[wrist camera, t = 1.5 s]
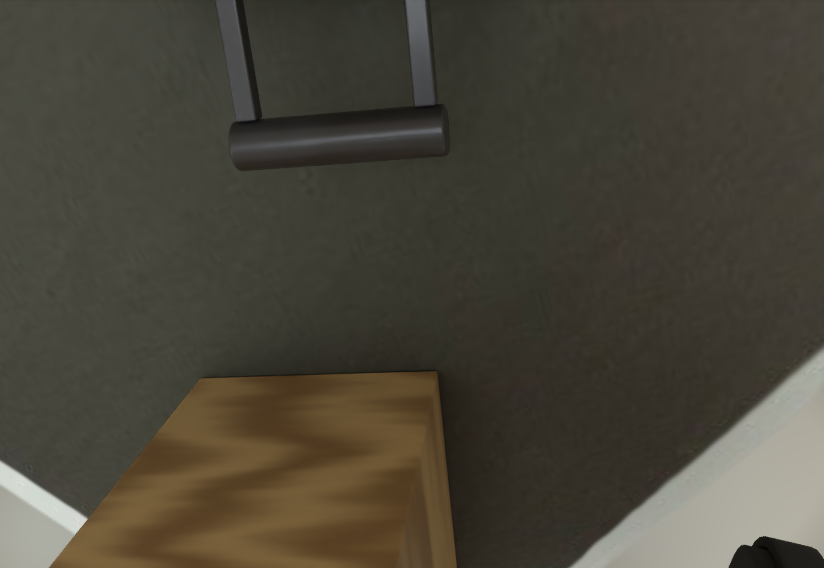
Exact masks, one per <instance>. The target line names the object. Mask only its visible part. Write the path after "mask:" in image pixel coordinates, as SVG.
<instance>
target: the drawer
mask: <svg viewBox="0 0 824 568" xmlns="http://www.w3.org/2000/svg"><path fill="white" fill-rule="evenodd" d="M215 4H216V9H217V15H218V20H219V26H220V32H221V37H222V43H223V48H224V54H225V60H226V65H227V71H228V76H229V82H230V88H231V93H232V99H233V104H234V110H235V116H236V122H234V123H233V124H232V125H231V127H230V131H229V149H230V154H231V158H232V161H233V163H234V165H235V167H236V168H237V169H238V170H240V171H251V170H264V169H278V168H291V167H305V166H318V165H332V164H345V163H359V162H372V161H386V160H400V159H413V158H427V157H440V156H447V155H448V153H449V149H450V135H449V121H448V114H447V109H446V107H445V105H444V104H437V102H438V94H437V82H436V71H435V59H434V48H433V36H432V25H431V13H430V2H429V0H404V5H405V15H406V26H407V36H408V46H409V56H410V67H411V77H412V87H413V97H414V105H415V106H411V107H399V108H387V109H375V110H363V111H351V112H340V113H328V114H316V115H304V116H292V117H280V118H269V119H260V118H262V112H261V106H260V100H259V94H258V88H257V82H256V76H255V70H254V64H253V58H252V52H251V46H250V40H249V34H248V28H247V22H246V16H245V10H244V4H243V0H215Z"/></svg>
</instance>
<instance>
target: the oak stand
mask: <svg viewBox="0 0 824 568" xmlns="http://www.w3.org/2000/svg"><path fill="white" fill-rule="evenodd" d="M49 568H457V563H456V553H455V543H454V533H453V523H452V513H451V503H450V493H449V483H448V473H447V463H446V453H445V442H444V432H443V422H442V412H441V402H440V392H439V382H438V373H437V371H423V372H390V373H358V374H326V375H294V376H262V377H230V378H201V379H200V380H199V381H198V382H197V383H196V385H195V386H194V387H193V388H192V390H191V391H190V392H189V393H188V395H187V396H186V397H185V398H184V400H183V401H182V402H181V403H180V405H179V406H178V407H177V408H176V410H175V411H174V412H173V413H172V415H171V416H170V417H169V418H168V420H167V421H166V422H165V423H164V425H163V426H162V427H161V428H160V430H159V431H158V432H157V433H156V435H155V436H154V437H153V438H152V440H151V441H150V442H149V443H148V445H147V446H146V447H145V448H144V450H143V451H142V452H141V453H140V455H139V456H138V457H137V458H136V460H135V461H134V462H133V463H132V465H131V466H130V467H129V468H128V470H127V471H126V472H125V473H124V475H123V476H122V477H121V478H120V480H119V481H118V482H117V483H116V485H115V486H114V487H113V488H112V490H111V491H110V492H109V493H108V495H107V496H106V497H105V498H104V500H103V501H102V502H101V503H100V505H99V506H98V507H97V508H96V510H95V511H94V512H93V513H92V515H91V516H90V517H89V518H88V520H87V521H86V522H85V523H84V525H83V526H82V527H81V528H80V530H79V531H78V532H77V533H76V535H75V536H74V537H73V538H72V540H71V541H70V542H69V543H68V545H67V546H66V547H65V548H64V550H63V551H62V552H61V553H60V555H59V556H58V557H57V559H56V560H55V561H54V562H53V563H52V565H51V566H50V567H49Z"/></svg>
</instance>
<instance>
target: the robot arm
mask: <svg viewBox="0 0 824 568" xmlns="http://www.w3.org/2000/svg"><path fill="white" fill-rule="evenodd" d="M729 568H824V559H823V557H822V556H821V554H820V553H819V552H818V550H816V549H814V548H812V547H809V546H805V545H801V544H796V543H792V542H788V541H783V540H779V539H775V538H770V537H766V536H763V537H759V538H758V539H757V540H756V541H755V542H754V543H753V545H752V546H748V545H741V546H740V547H739V548H738V549H737V551H736V552H735V554H734V556H733V559H732V561H731V563H730V565H729Z"/></svg>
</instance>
